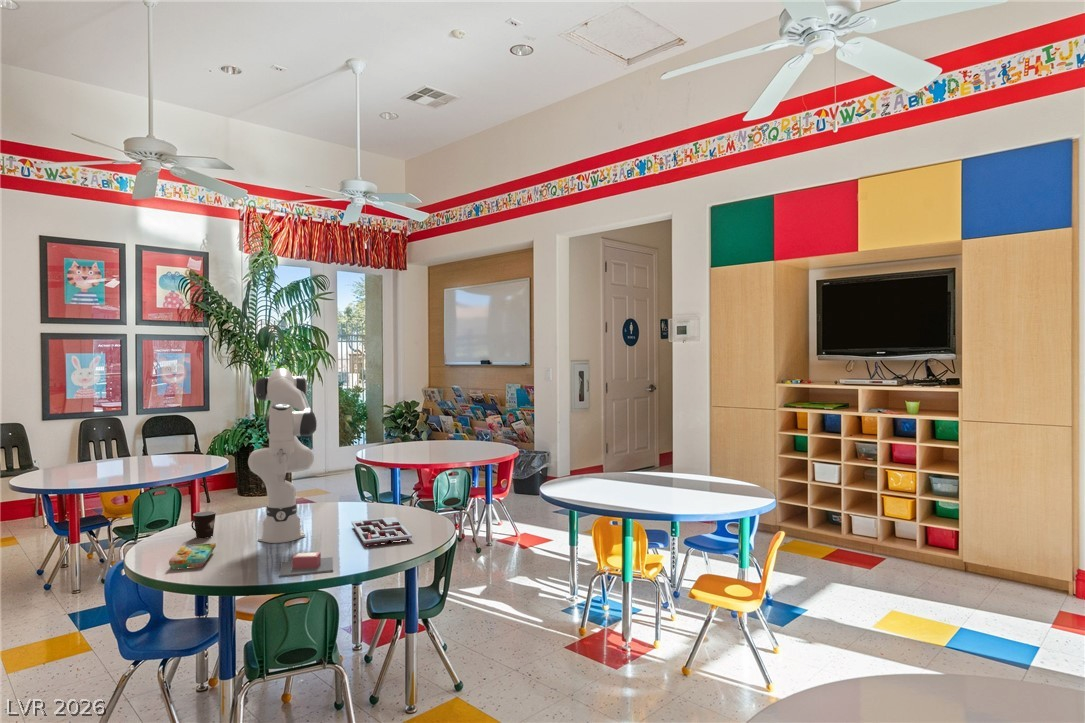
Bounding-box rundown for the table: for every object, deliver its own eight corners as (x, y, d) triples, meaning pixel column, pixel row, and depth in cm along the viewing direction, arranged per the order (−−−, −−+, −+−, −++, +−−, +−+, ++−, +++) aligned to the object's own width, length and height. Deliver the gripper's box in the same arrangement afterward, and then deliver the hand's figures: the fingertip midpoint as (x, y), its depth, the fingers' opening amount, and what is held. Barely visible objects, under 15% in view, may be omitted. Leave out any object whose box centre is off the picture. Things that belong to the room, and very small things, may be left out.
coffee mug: (209, 532, 285) (209, 510, 285) (219, 535, 280) (219, 512, 280) (182, 538, 275) (182, 515, 275) (192, 542, 270) (192, 518, 270)
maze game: (412, 543, 269) (412, 535, 269) (363, 549, 261) (363, 541, 261) (395, 523, 301) (395, 516, 301) (351, 528, 293) (351, 521, 293)
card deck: (320, 562, 240) (320, 551, 240) (317, 567, 234) (316, 556, 234) (296, 563, 239) (296, 552, 239) (292, 568, 234) (292, 557, 233)
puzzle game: (169, 558, 234) (182, 543, 253) (169, 571, 234) (182, 555, 253) (204, 555, 237) (215, 541, 256) (205, 568, 237) (215, 552, 256)
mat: (281, 563, 241) (281, 561, 241) (332, 558, 247) (332, 557, 247) (279, 577, 226) (279, 575, 226) (333, 571, 232) (333, 569, 232)
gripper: (289, 450, 235) (289, 488, 235) (291, 444, 255) (292, 479, 255) (270, 451, 233) (270, 490, 233) (274, 444, 253) (274, 480, 253)
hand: (281, 484), depth 244 cm, fingers open, 8 cm apart
